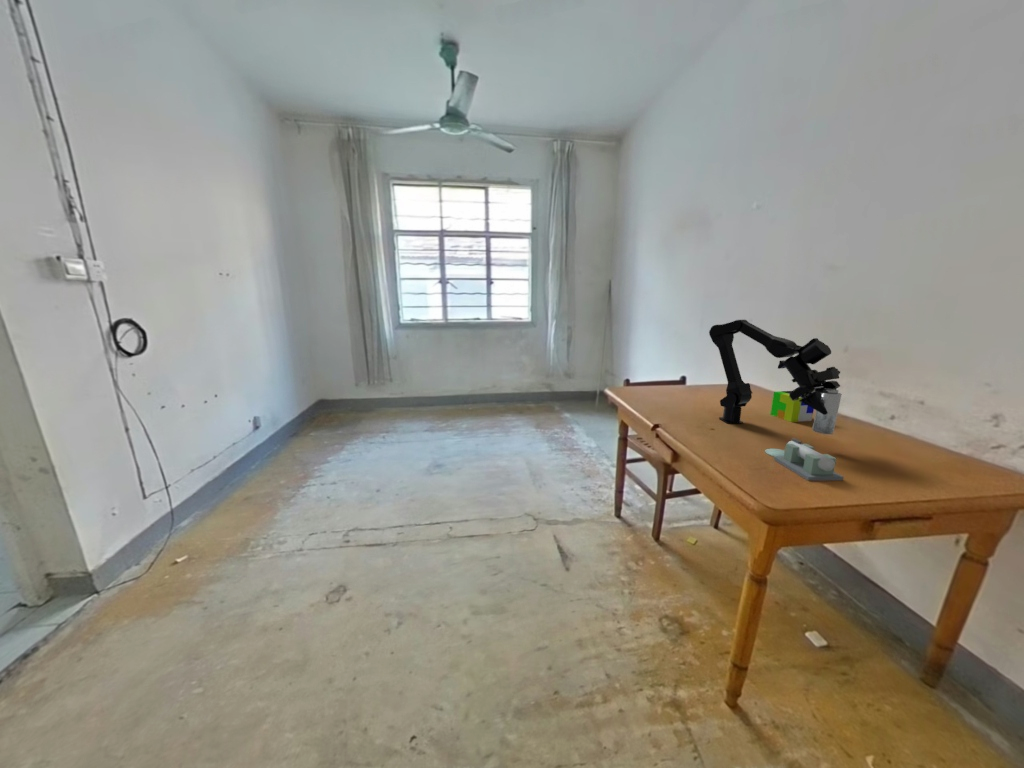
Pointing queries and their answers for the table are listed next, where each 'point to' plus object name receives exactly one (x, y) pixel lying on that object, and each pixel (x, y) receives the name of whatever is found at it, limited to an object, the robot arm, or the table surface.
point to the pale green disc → (775, 452)
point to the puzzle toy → (790, 408)
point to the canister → (831, 404)
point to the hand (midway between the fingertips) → (831, 413)
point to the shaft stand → (808, 462)
